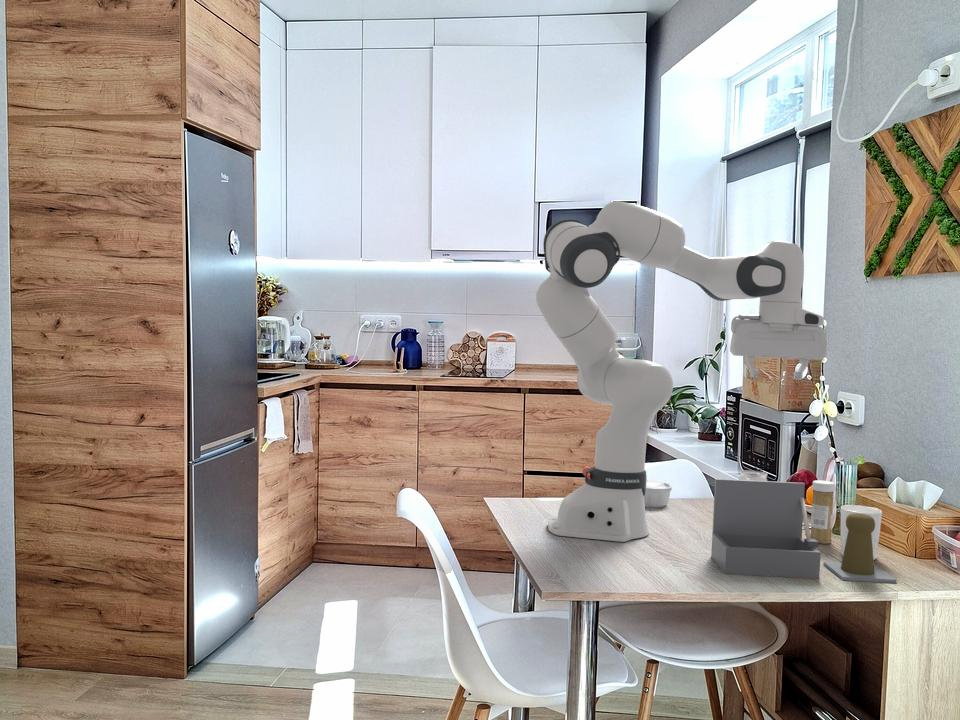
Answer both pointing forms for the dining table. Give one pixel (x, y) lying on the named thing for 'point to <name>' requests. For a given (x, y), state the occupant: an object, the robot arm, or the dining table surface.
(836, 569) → the mat
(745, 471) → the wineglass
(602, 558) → the dining table surface
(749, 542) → the case
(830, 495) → the sprinkles bottle
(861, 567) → the cork
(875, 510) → the white cup
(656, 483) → the ramekin
